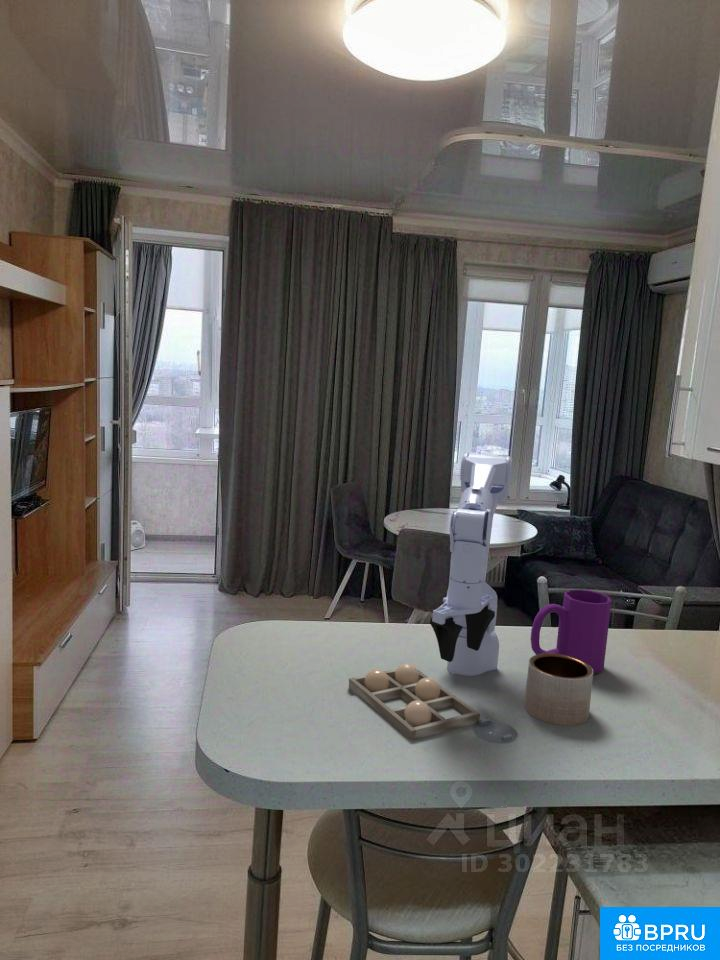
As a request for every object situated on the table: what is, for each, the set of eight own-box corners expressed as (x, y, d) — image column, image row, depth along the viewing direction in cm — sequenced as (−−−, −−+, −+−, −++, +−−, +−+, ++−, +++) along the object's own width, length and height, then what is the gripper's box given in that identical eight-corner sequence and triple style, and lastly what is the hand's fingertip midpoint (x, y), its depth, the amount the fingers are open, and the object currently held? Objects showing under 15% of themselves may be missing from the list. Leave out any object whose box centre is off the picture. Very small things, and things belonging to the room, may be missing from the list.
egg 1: (380, 686, 127) (381, 663, 126) (393, 696, 123) (394, 673, 122) (359, 690, 125) (360, 667, 124) (371, 701, 121) (373, 677, 120)
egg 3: (420, 718, 116) (422, 693, 115) (435, 730, 112) (437, 705, 111) (398, 723, 114) (399, 698, 113) (413, 736, 110) (415, 710, 109)
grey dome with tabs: (496, 725, 117) (497, 713, 117) (526, 745, 111) (527, 733, 111) (463, 734, 113) (464, 722, 113) (492, 756, 107) (493, 743, 107)
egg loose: (438, 697, 124) (440, 674, 123) (440, 709, 119) (442, 685, 119) (413, 695, 124) (415, 672, 123) (414, 707, 119) (416, 683, 119)
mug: (611, 676, 139) (619, 604, 137) (536, 675, 137) (543, 602, 135) (591, 657, 148) (599, 589, 146) (521, 656, 146) (527, 587, 144)
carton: (410, 680, 132) (412, 665, 131) (478, 730, 115) (480, 713, 114) (348, 694, 125) (349, 678, 125) (410, 749, 108) (411, 731, 108)
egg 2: (409, 680, 130) (410, 657, 129) (422, 690, 126) (424, 667, 125) (389, 684, 128) (390, 661, 127) (402, 694, 124) (404, 671, 123)
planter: (569, 701, 127) (575, 651, 126) (600, 732, 117) (606, 678, 115) (513, 703, 125) (518, 653, 124) (539, 734, 115) (544, 680, 113)
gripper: (472, 566, 127) (466, 637, 129) (420, 580, 116) (415, 657, 119) (505, 575, 122) (498, 649, 124) (454, 591, 112) (448, 671, 114)
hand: (460, 654), depth 121 cm, fingers open, 7 cm apart
